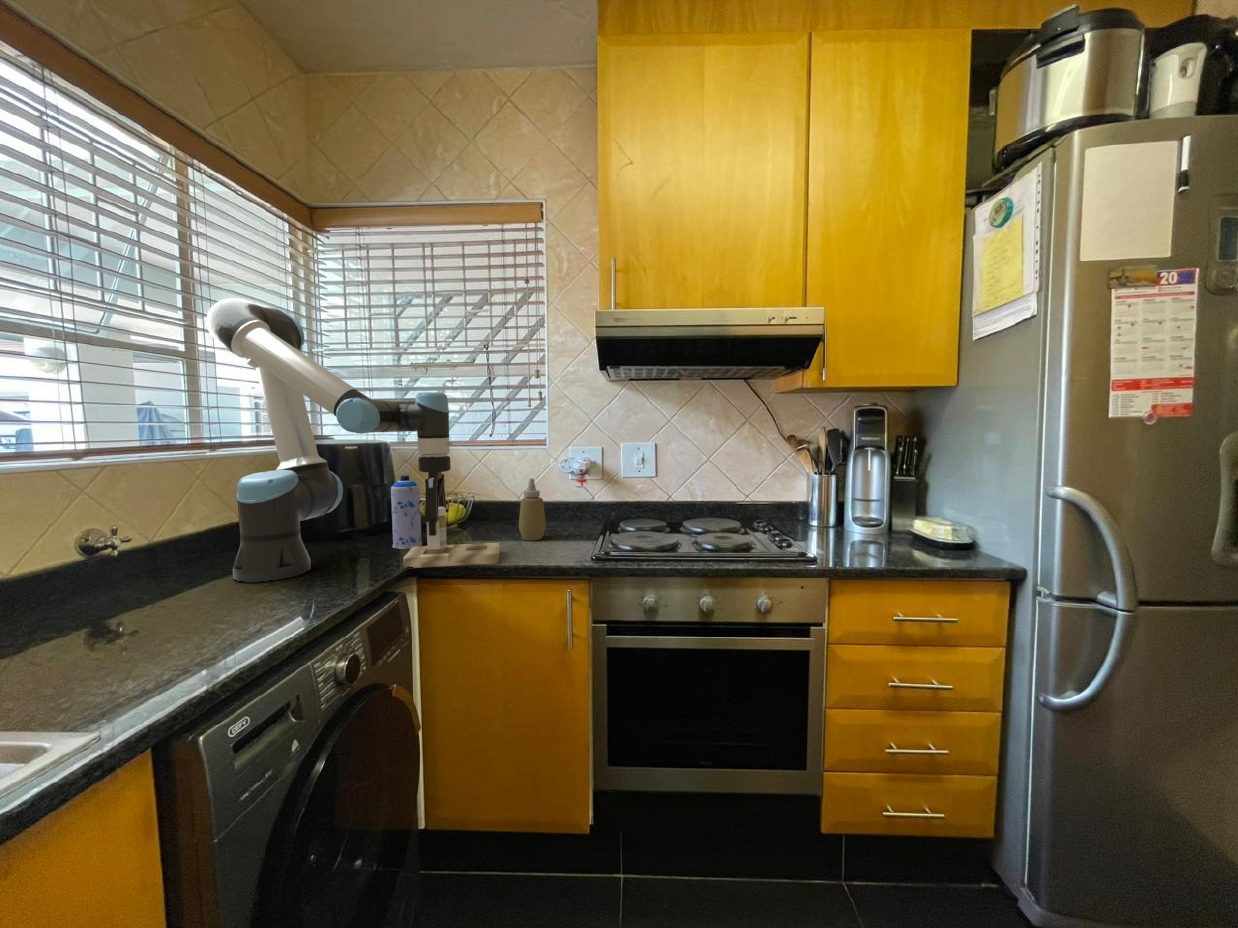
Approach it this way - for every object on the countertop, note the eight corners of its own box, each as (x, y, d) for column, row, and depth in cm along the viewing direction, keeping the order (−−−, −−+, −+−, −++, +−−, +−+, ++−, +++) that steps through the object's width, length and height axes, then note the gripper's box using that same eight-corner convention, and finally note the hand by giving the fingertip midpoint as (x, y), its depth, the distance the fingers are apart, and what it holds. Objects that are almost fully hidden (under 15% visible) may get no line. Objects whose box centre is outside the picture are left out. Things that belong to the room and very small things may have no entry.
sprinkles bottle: (441, 557, 137) (440, 505, 136) (450, 560, 134) (449, 507, 133) (425, 560, 134) (423, 507, 133) (433, 563, 131) (432, 509, 130)
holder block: (403, 568, 127) (403, 556, 127) (413, 556, 139) (412, 545, 138) (498, 563, 131) (497, 552, 131) (499, 551, 143) (499, 541, 142)
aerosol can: (419, 541, 156) (416, 473, 154) (425, 546, 149) (422, 475, 148) (390, 544, 152) (387, 475, 150) (395, 550, 145) (392, 477, 144)
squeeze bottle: (549, 536, 162) (548, 477, 160) (542, 542, 154) (541, 480, 152) (523, 535, 162) (521, 477, 161) (515, 541, 154) (513, 480, 153)
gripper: (443, 458, 121) (446, 553, 123) (455, 452, 144) (458, 532, 146) (408, 458, 120) (412, 554, 122) (426, 453, 143) (429, 534, 144)
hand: (437, 543), depth 134 cm, fingers open, 11 cm apart
